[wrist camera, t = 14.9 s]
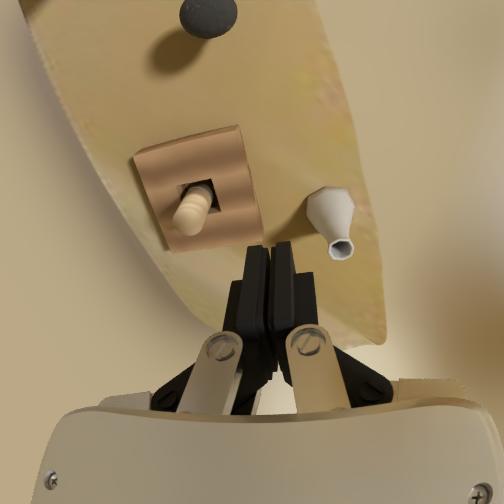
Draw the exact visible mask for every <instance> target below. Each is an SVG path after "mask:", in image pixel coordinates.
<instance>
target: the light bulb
mask: <svg viewBox="0 0 504 504" xmlns="http://www.w3.org/2000/svg"><path fill="white" fill-rule="evenodd" d="M179 16H180V22H181V24H182V26H183V28H184V29H185V30H186V31H187V32H188V33H190V34H191V35H193V36H196V37H199V38H203V39H210V38H215V37H218V36H221V35H223V34H225V33H226V32H228V31H229V30H230V29H231V28H232V27H233V25H234V23H235V22H236V19H237V6H236V3H235V1H234V0H185V1H184V2H183V4H182V6H181V8H180V14H179Z"/></svg>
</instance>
